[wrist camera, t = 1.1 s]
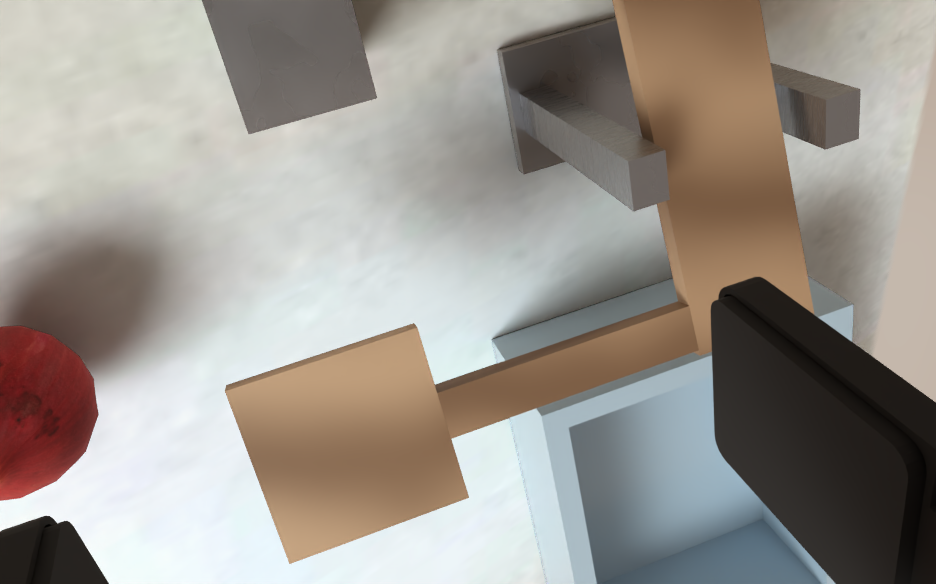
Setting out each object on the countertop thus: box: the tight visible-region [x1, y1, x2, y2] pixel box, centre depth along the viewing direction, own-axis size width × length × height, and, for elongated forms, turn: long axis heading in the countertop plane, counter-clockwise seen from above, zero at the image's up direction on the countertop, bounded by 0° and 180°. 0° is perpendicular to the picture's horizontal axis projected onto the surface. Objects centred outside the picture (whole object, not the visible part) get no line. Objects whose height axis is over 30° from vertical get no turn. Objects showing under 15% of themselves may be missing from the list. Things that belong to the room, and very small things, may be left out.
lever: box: [225, 0, 814, 564], centre depth 23 cm, size 27×19×3 cm
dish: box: [492, 276, 853, 584], centre depth 40 cm, size 18×14×6 cm
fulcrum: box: [497, 17, 860, 211], centre depth 29 cm, size 5×9×10 cm, turn 102°
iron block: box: [202, 0, 377, 134], centre depth 26 cm, size 5×4×6 cm
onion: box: [0, 326, 98, 501], centre depth 28 cm, size 6×6×8 cm
